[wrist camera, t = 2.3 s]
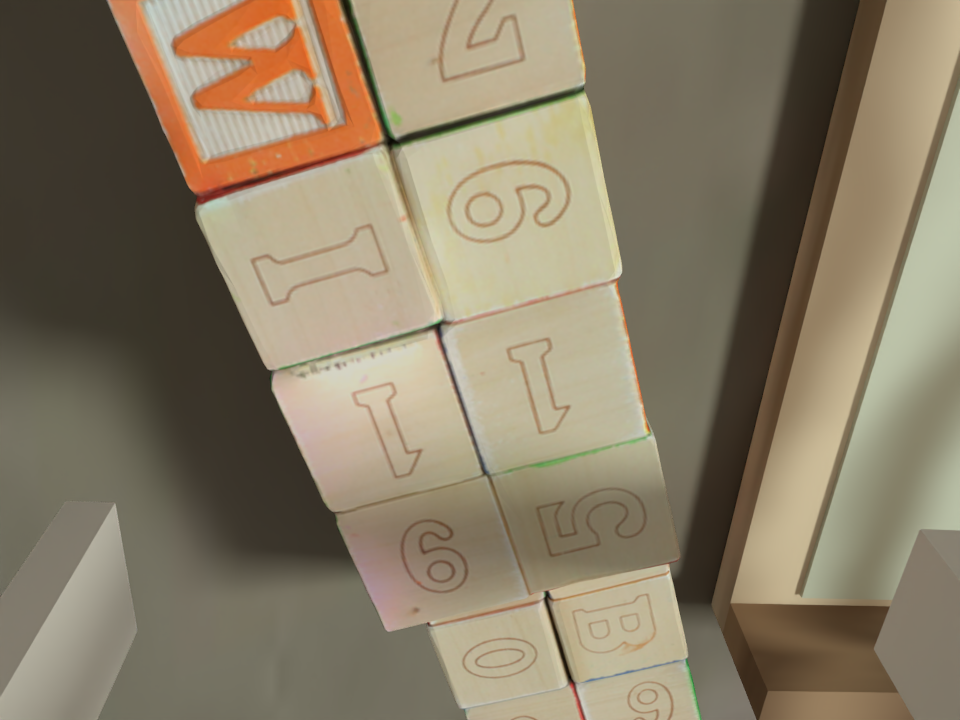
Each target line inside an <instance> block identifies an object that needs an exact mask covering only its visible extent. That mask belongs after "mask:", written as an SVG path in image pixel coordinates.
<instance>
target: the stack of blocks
mask: <svg viewBox="0 0 960 720" xmlns="http://www.w3.org/2000/svg"><path fill="white" fill-rule="evenodd" d="M107 3H108V5H109V7H110V10H111V12H112V15H113V17H114V19H115V22H116V24H117V26H118V28H119V31H120V33H121V35H122V37H123V40H124V42H125V44H126V46H127V49H128V51H129V53H130V55H131V58H132V60H133V62H134V64H135V67H136V69H137V71H138V73H139V76H140V78H141V80H142V82H143V84H144V87H145V89H146V91H147V93H148V96H149V98H150V100H151V102H152V105H153V107H154V110H155V112H156V115H157V117H158V119H159V122H160V124H161V127H162V129H163V131H164V133H165V135H166V137H167V139H168V142H169V144H170V146H171V149H172V151H173V153H174V155H175V158H176V160H177V162H178V165H179V167H180V169H181V172H182V174H183V176H184V179H185V181H186V183H187V185H188V187H189V188H190V189H191V190H192V191H193V192H194V194H195V195H196V196H197V199H196V204H195V208H194V209H195V216H196V220H197V222H198V224H199V226H200V229H201V231H202V233H203V235H204V237H205V239H206V241H207V243H208V246H209V248H210V250H211V253H212V255H213V257H214V259H215V262H216V264H217V266H218V268H219V270H220V272H221V274H222V276H223V278H224V280H225V282H226V285H227V287H228V289H229V291H230V293H231V296H232V298H233V300H234V302H235V304H236V307H237V309H238V311H239V313H240V315H241V318H242V320H243V322H244V324H245V326H246V328H247V330H248V332H249V335H250V337H251V339H252V341H253V343H254V345H255V347H256V349H257V351H258V353H259V355H260V358H261V360H262V362H263V364H264V365H265V366H266V367H267V369H269V370H271V371H272V373H271V376H270V385H271V391H272V393H273V395H274V396H275V398H276V400H277V403H278V405H279V408H280V410H281V413H282V415H283V417H284V419H285V421H286V423H287V424H288V426H289V428H290V430H291V433H292V435H293V437H294V439H295V442H296V444H297V446H298V448H299V451H300V452H301V455H302V457H303V459H304V461H305V463H306V465H307V467H308V469H309V472H310V474H311V476H312V478H313V480H314V482H315V485H316V487H317V489H318V491H319V493H320V495H321V498H322V500H323V502H324V503H325V505H326V506H327V508H328V509H330V510H331V511H332V512H334V513H335V517H336V522H337V527H338V530H339V532H340V534H341V536H342V539H343V541H344V543H345V545H346V547H347V549H348V551H349V554H350V556H351V558H352V560H353V562H354V564H355V566H356V569H357V571H358V573H359V575H360V577H361V579H362V582H363V584H364V586H365V588H366V591H367V593H368V595H369V597H370V599H371V601H372V603H373V605H374V607H375V609H376V611H377V613H378V616H379V618H380V620H381V622H382V625H383V627H384V629H385V630H386V631H387V632H390V631H394V630H398V629H402V628H406V627H411V626H415V625H419V624H423V623H426V627H427V631H428V633H429V636H430V639H431V641H432V644H433V646H434V649H435V652H436V654H437V657H438V660H439V662H440V665H441V667H442V670H443V672H444V675H445V677H446V679H447V682H448V684H449V687H450V689H451V692H452V694H453V697H454V699H455V702H456V704H457V706H458V707H459V708H461V709H464V711H465V715H466V718H467V720H701V715H700V711H699V706H698V702H697V698H696V693H695V688H694V683H693V679H692V675H691V672H690V668H689V664H688V661H687V657H688V649H687V645H686V640H685V635H684V631H683V627H682V622H681V618H680V613H679V608H678V604H677V599H676V594H675V590H674V585H673V581H672V577H671V573H670V569H669V563H673V562H676V561H678V560H679V559H680V558H681V555H680V550H679V545H678V541H677V536H676V531H675V527H674V522H673V518H672V513H671V508H670V504H669V499H668V495H667V491H666V486H665V482H664V478H663V473H662V469H661V464H660V459H659V455H658V450H657V445H656V440H655V437H654V434H653V431H652V429H651V426H650V424H649V422H648V419H647V417H646V415H645V411H644V406H643V401H642V396H641V391H640V387H639V382H638V377H637V372H636V368H635V363H634V359H633V355H632V350H631V345H630V340H629V335H628V330H627V325H626V321H625V316H624V311H623V307H622V302H621V298H620V294H619V291H618V284H617V282H618V280H619V278H620V275H621V273H622V263H621V258H620V253H619V248H618V243H617V238H616V232H615V227H614V223H613V218H612V213H611V209H610V204H609V199H608V195H607V190H606V185H605V181H604V175H603V170H602V165H601V159H600V154H599V149H598V143H597V138H596V133H595V127H594V122H593V117H592V112H591V106H590V104H589V101H588V99H587V96H586V93H585V91H584V88H583V87H584V84H585V74H586V68H585V63H584V58H583V53H582V48H581V42H580V37H579V32H578V26H577V21H576V16H575V10H574V5H573V0H107Z"/></svg>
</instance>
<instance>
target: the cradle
mask: <svg viewBox="0 0 960 720" xmlns="http://www.w3.org/2000/svg"><path fill="white" fill-rule="evenodd" d="M920 529H933V530H960V0H860V3H859V7H858V11H857V15H856V19H855V23H854V27H853V31H852V35H851V39H850V43H849V47H848V52H847V56H846V60H845V64H844V68H843V72H842V76H841V80H840V84H839V88H838V92H837V96H836V100H835V104H834V108H833V112H832V116H831V120H830V125H829V129H828V133H827V137H826V141H825V145H824V149H823V153H822V157H821V161H820V165H819V169H818V173H817V177H816V181H815V185H814V189H813V194H812V198H811V202H810V206H809V210H808V214H807V218H806V222H805V226H804V230H803V234H802V238H801V242H800V246H799V250H798V254H797V258H796V263H795V267H794V271H793V275H792V279H791V283H790V287H789V291H788V295H787V299H786V303H785V307H784V311H783V315H782V319H781V323H780V327H779V332H778V336H777V340H776V344H775V348H774V352H773V356H772V360H771V364H770V368H769V372H768V376H767V380H766V384H765V388H764V392H763V396H762V401H761V405H760V409H759V413H758V417H757V421H756V425H755V429H754V433H753V437H752V441H751V445H750V449H749V453H748V457H747V461H746V465H745V469H744V474H743V478H742V482H741V486H740V490H739V494H738V498H737V502H736V506H735V510H734V514H733V518H732V522H731V526H730V530H729V534H728V538H727V543H726V547H725V551H724V555H723V559H722V563H721V567H720V571H719V575H718V579H717V583H716V587H715V591H714V595H713V599H712V603H711V606H712V608H713V611H714V613H715V616H716V618H717V621H718V623H719V626H720V628H721V631H722V633H723V636H724V638H725V641H726V643H727V646H728V648H729V651H730V653H731V656H732V659H733V661H734V664H735V666H736V669H737V671H738V674H739V676H740V679H741V681H742V684H743V686H744V689H745V691H746V694H747V696H748V699H749V701H750V704H751V706H752V709H753V711H754V714H755V716H756V719H757V720H914V718H913V717H912V715H911V713H910V711H909V710H908V708H907V706H906V704H905V703H904V701H903V699H902V698H901V696H900V694H899V692H898V691H897V689H896V687H895V685H894V684H893V682H892V680H891V678H890V677H889V675H888V673H887V672H886V670H885V668H884V666H883V665H882V663H881V661H880V659H879V658H878V656H877V654H876V652H875V651H874V647H875V644H876V642H877V639H878V636H879V634H880V631H881V629H882V626H883V623H884V621H885V618H886V616H887V613H888V611H889V608H890V605H891V603H892V600H893V598H894V595H895V592H896V590H897V587H898V585H899V582H900V579H901V577H902V574H903V572H904V569H905V566H906V564H907V561H908V559H909V556H910V553H911V551H912V548H913V546H914V543H915V541H916V538H917V535H918V533H919V530H920Z"/></svg>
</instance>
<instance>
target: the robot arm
mask: <svg viewBox="0 0 960 720" xmlns="http://www.w3.org/2000/svg"><path fill="white" fill-rule="evenodd" d="M136 633H137V625H136V619H135V613H134V608H133V602H132V596H131V590H130V585H129V579H128V573H127V568H126V562H125V556H124V550H123V545H122V539H121V533H120V527H119V522H118V516H117V510H116V505H115V502H84V501H65V503H64V504H63V505H62V507H61V508H60V510H59V511H58V513H57V514H56V516H55V517H54V519H53V520H52V522H51V523H50V525H49V526H48V528H47V529H46V531H45V532H44V534H43V535H42V537H41V538H40V539H39V541H38V542H37V544H36V545H35V547H34V548H33V550H32V551H31V553H30V554H29V556H28V557H27V559H26V560H25V562H24V563H23V565H22V566H21V568H20V569H19V570H18V572H17V573H16V575H15V576H14V578H13V579H12V581H11V582H10V584H9V585H8V587H7V588H6V590H5V591H4V593H3V594H2V596H1V597H0V720H97V719H98V717H99V715H100V713H101V710H102V708H103V706H104V704H105V702H106V699H107V697H108V695H109V693H110V690H111V688H112V686H113V684H114V682H115V679H116V677H117V675H118V673H119V671H120V668H121V666H122V664H123V662H124V659H125V657H126V655H127V653H128V651H129V648H130V646H131V644H132V642H133V639H134V637H135V635H136ZM874 651H875V652H876V654H877V656H878V658H879V659H880V661H881V663H882V665H883V666H884V668H885V670H886V672H887V673H888V675H889V677H890V678H891V680H892V682H893V684H894V685H895V687H896V689H897V691H898V692H899V694H900V696H901V698H902V699H903V701H904V703H905V704H906V706H907V708H908V710H909V711H910V713H911V715H912V717H913V718H914V720H960V530H933V529H920V530H919V533H918V535H917V538H916V541H915V543H914V546H913V548H912V551H911V553H910V556H909V559H908V561H907V564H906V566H905V569H904V572H903V574H902V577H901V579H900V582H899V585H898V587H897V590H896V592H895V595H894V598H893V600H892V603H891V605H890V608H889V611H888V613H887V616H886V618H885V621H884V623H883V626H882V629H881V631H880V634H879V636H878V639H877V642H876V644H875V647H874Z"/></svg>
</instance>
